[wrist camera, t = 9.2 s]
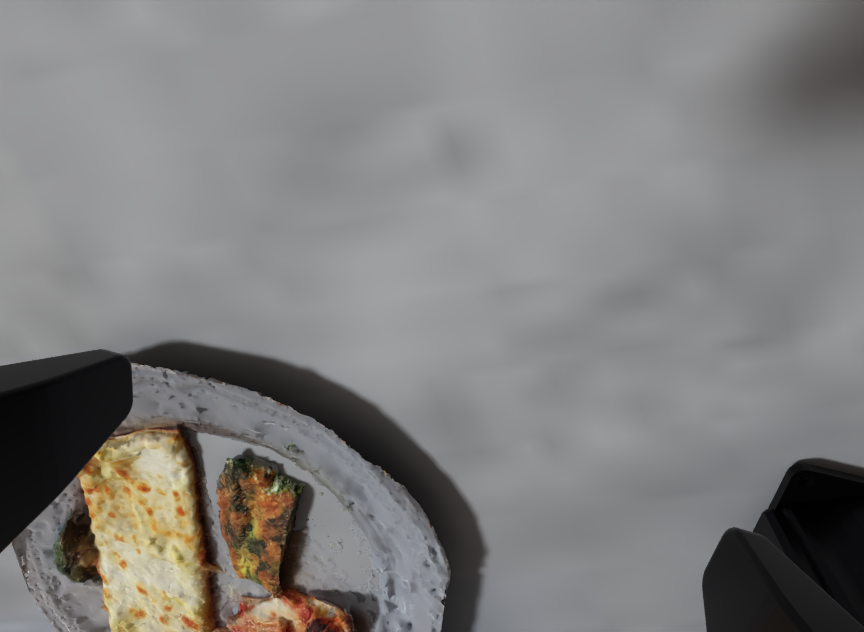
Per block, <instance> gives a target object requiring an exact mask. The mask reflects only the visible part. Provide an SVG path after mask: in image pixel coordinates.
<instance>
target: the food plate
mask: <svg viewBox="0 0 864 632" xmlns="http://www.w3.org/2000/svg"><path fill="white" fill-rule="evenodd" d="M131 365H132V384H133V405H132V408H131V411H130V413H129V414H128V416H127V417H126V419H125V420H124V421H123V422H122V423H121V425H120V426H119V427H118V428H117V429H116V430H115V432H114V433H113V434H112V435H111V436H110V437H109V439H108V440H107V441H106V442H105V443H104V444H103V446H102V447H101V448H100V449H99V450H98V451H97V453H96V454H95V455H94V456H93V457H92V458H91V460H90V461H89V462H88V463H87V464H86V465H85V467H84V468H83V469H82V470H81V471H80V472H79V474H78V475H77V476H76V477H75V478H74V479H73V481H72V482H71V483H70V484H69V485H68V486H67V487H66V488H65V490H64V491H63V492H62V493H61V494H60V495H59V496H58V497H57V498H56V499H55V500H54V501H53V502H52V503H51V504H50V505H49V506H48V507H47V508H46V509H45V510H44V511H43V512H42V513H41V514H40V515H39V516H38V517H37V518H36V519H35V520H34V521H33V522H32V523H31V524H30V525H29V526H28V527H27V528H26V529H25V530H24V531H23V532H22V533H21V534H20V535H19V536H18V537H17V538H15V539H14V540H13V542H12V546H13V548H14V551H15V553H16V557H17V560H18V562H19V565H20V568H21V571H22V573H23V571H24V573H23V576H24V579H25V581H26V584H27V582H28V583H30V584H31V585H30V587H31V589H30V588H29V587H28V589H29V591H30V594H31V595H32V597H33V599H34V600H35V602H36V605H37V606H38V608H40V610H41V611H42V612H43V614H44V616H45V617H46V618H47V621H48V622H49V623H50V624H51V625H52V627H53V628H54V629H55V630H56V631H57V632H440V631H441V627H442V620H443V611H444V605H442V603H441V601H442V600H443V598H446V594H447V591H446V594H445V591H444V590H446V583H447V582H448V583H447V589H448V585H449V582H450V574H451V568H450V566H449V562H448V560H447V558H446V556H445V554H446V553H445V550H444V549H443V547H442V545H441V544H440V541H438V535H437V533H435V530H434V527H433V526H432V525H430V523H429V520H428V517H427V515H426V513H423V509H422V508H421V507H420V504H419V503H418V502H417V501H416V500H415V499H414V498H413V497H412V496H411V495H410V494H409V492H408V491H407V489H406V488H405V487H404V485H403V486H402V485H401V484H400V483H398V482H394V479H393V478H392V479H391V477H390V474H388V473H387V474H386V472H385V471H383V470H382V469H381V467H380V466H378V465H372V463H370V462H367V461H365V460H364V459H363V458H361V456H360V455H359V453H358V452H356V451H355V450H353V449H352V448H350V445H346V443H345V441H342V440H341V438H338V435H336V434H335V433H334V431H333V430H329V429H327V428H325V426H324V425H322V424H320V423H319V422H316V420H315V419H313V418H312V417H309V416H306V415H303V414H300V413H298V412H297V411H296V410H293V409H292V408H291V407H290V406H287V405H284V404H281V403H280V402H277V401H275V400H274V401H273V399H271V398H270V397H269V398H268V397H265V396H261V395H260V394H262V393H259V392H256V391H253V390H250V389H249V390H250V391H249V390H248V388H246V389H245V388H242V387H237V386H235V385H231V384H229V383H225V382H220V381H221V380H220V381H218V380H216V379H214V378H212V377H211V376H209V377H211V378H209V379H207V380H206V379H205V377H198V376H197V375H191V374H188V373H190V372H187V371H184V372H179V371H178V370H173V371H171V370H170V369H167V368H163V367H156V368H151V366H148V365H145V366H144V365H139V364H138V363H134V364H133V363H131ZM185 372H187V373H185ZM205 376H206V375H205ZM262 395H264V394H262ZM266 396H267V395H266ZM186 429H191V430H192V431H195V432H200V433H208V434H211V435H216V436H220V437H224V438H231V439H232V440H236V441H241V442H244V443H248V444H251V445H254V446H262V447H266V448H269V449H271V450H273V451H274V452H276V453H277V454H279V455H281V456H283V457H285V458H287V459H289V460H291V461H292V462H296V464H295V465H296V466H297V467H298V468H300V469H302V470H305V471H306V470H307V471H308V472H310V473H311V474H312V476H313V479H314V481H316V482H318V485H323V486H325V487H326V488H328V489H329V490H330V491H331V492H332V493H333V494H334V495H335V496H336V497H337V500H338V502H339V503H340V504H341V505H340V509H341V510H343V511H345V510H347V509H348V511H349V513H350V515H351V517H352V518H353V519H354V521H353V522H350V526H351V530H354V533H353V534H352V535H353V537H355V540H356V542H357V544H358V545H362V544H363V540H365V541H367V542H368V544H369V551H370V553H368V557H369V559H370V562H371V567H370V568H369V569H368V570H369V571H370V573H371V575H370V578H368V581H367V586H366V585H365V584H362V585H357V588H356V587H353V586H349V585H347V584H346V583H345V581H343V580H346V578H348V574H347V573H346V572H344V571H340V572H336V571H333V568H335V566H336V564H335V562H334V559H332V557H333V555H334V553H333V552H342V551H341V549H342V548H343V546H342V544H341V543H342V542H343V540H342V539H339V540H338V542H339V543H338V544H334V543H330V544H329V546H331V547H337V548H338V549H339V551H333V550H332V549H330V551H326V550H324V549H322V548H321V545H320V544H319V543H317V542H316V539H315V541H312V540H311V539H310V538H309V537H310V536H309V535H308V533H309V530H308V529H306V528H303V529H301V530H298V531H294V530H293V528H294V527H295V520H296V511H297V509H298V501H299V498H300V494H301V493H302V492H303V489H304V486H305V484H304V483H301V482H300V483H298V484H297V483H295V482H294V481H293V480H292V479H291V478H288V477H286V476H284V475H282V474H281V473H280V472H279V470H278V467H277V465H276V464H274V463H270V462H268V461H266V460H264V459H261V458H259V457H257V456H253V457H252V458H251V459H248V457H247V456H244V455H237V456H235V457H234V458H233V459H231V458H228V459H227V460H226V464H225V468H224V470H223V472H222V474H221V475H220V476H219V479H218V480H217V490H216V494H218V498H219V499H218V503H217V504H218V505H219V507H220V509H221V511H219V512H220V513H219V519H220V523H215V524H214V523H212V521H213V520H214V519H215V518H216V515H215V513H214V512H213V510H212V505H211V501H210V499H209V495H208V494H207V492H208V490H207V489H206V488H205V487H206V483H207V480H206V476H203V475H202V474H201V472H202V468H201V465H200V462H199V458H198V455H197V451H198V450H199V449H198V448H197V447H196V446H195V447H192V446H191V443H190V440H189V439H190V436H189V434H188V433H187V431H186ZM192 450H193V451H192ZM201 487H202V488H201ZM322 495H323V493H320V496H322ZM308 520H309V519H308V518H306V521H308ZM312 520H313V519H312ZM314 526H315V525H314ZM323 526H325V525H323ZM304 534H306V536H305V535H304ZM307 536H308V537H307ZM327 536H328V535H327ZM328 537H329V536H328ZM289 551H291V552H292V553H290V552H289ZM362 552H367V551H366V550H363V551H362ZM360 553H361V551H358V554H360ZM21 556H23V561H24V565H23V566H22V559H21ZM315 556H317V557H319V558H320V560H319V559H317V558H316V557H315ZM320 556H321V557H320ZM294 563H295V564H294ZM22 569H23V570H22ZM361 570H362V571H363V572H364V573H366V572H365V571H366V570H367V569H366V568H365V567H362V566H361ZM373 570H376V571H377V572H378V573H379V575H380V578H379V580H380V581H379V583H380V584H379V585H378V586H379V587H380V588H381V590H382V594H381V595H380V594H379V593H376V594H375V595H376V596H377V597H378V599H377V601H376V602H374V601H373V600H372V599H371V598H372V596H373V595H372V593H371V592H370V591H371V588H370V586H371V587H372V589H373V587H375V586H374V584H373V583H372V582H371V580H373V578H374V577H375V576H374V574H373ZM25 573H27V575H28V577H27V578H25V575H24V574H25ZM230 575H233V577H234V578H232V577H231V576H230ZM334 575H338V576H340V577H341V578H342V580H340V579H336V578H335V576H334ZM27 586H28V585H27ZM366 587H367V588H368V589H367V591H366V592H363V591H362V589H365V588H366ZM353 589H357V590H358V591H359V593H360V594H361V595H363V596H364V597H365V598H366V599H365V601H364V602H358V597H357V596H356V595H355V594H353V593H351V592H350V591H351V590H353ZM373 590H375V591H376V592H378V591H379V590H378V589H376V588H375V589H373ZM444 603H445V602H444ZM233 607H239V611H238V613H237V614H236V615H234V614H233V611H232V608H233ZM395 607H397V609H398V613H396V612H394V608H395ZM368 610H371V611H373V612H374V613H375V618H374V620H375V622H374V621H373V620H372V616H370V615H369V614H370V613H369V612H368ZM368 617H369V618H368ZM369 623H370V624H369Z"/></svg>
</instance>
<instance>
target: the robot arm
mask: <svg viewBox="0 0 864 632" xmlns="http://www.w3.org/2000/svg"><path fill="white" fill-rule="evenodd" d="M132 405H133V384H132V365H131V362H130V360H129V358H128V357H127V356H125V355H122V354H119V353H115V352H112V351H108V350H103V349H100V350H93V351H87V352H81V353H75V354H69V355H63V356H57V357H51V358H45V359H39V360H33V361H27V362H21V363H15V364H9V365H3V366H0V553H1V552H2V551H3V550H4V549H5V548H6V547H7V546H8V545H9V544H10V543H11V542H12V541H13V540H14V539H15V538H17V537H18V536H19V535H20V534H21V533H22V532H23V531H24V530H25V529H26V528H27V527H28V526H29V525H30V524H31V523H32V522H33V521H34V520H35V519H36V518H37V517H38V516H39V515H40V514H41V513H42V512H43V511H44V510H45V509H46V508H47V507H48V506H49V505H50V504H51V503H52V502H53V501H54V500H55V499H56V498H57V497H58V496H59V495H60V494H61V493H62V492H63V491H64V490H65V488H66V487H67V486H68V485H69V484H70V483H71V482H72V481H73V479H74V478H75V477H76V476H77V475H78V474H79V472H80V471H81V470H82V469H83V468H84V467H85V465H86V464H87V463H88V462H89V461H90V460H91V458H92V457H93V456H94V455H95V454H96V453H97V451H98V450H99V449H100V448H101V447H102V446H103V444H104V443H105V442H106V441H107V440H108V439H109V437H110V436H111V435H112V434H113V433H114V432H115V430H116V429H117V428H118V427H119V426H120V425H121V423H122V422H123V421H124V420H125V419H126V417H127V416H128V414H129V413H130V411H131V408H132ZM802 476H808V477H807V478H806V479H805V480H798V479H799V478H800V477H802ZM702 589H703V599H704V609H705V618H706V628H707V632H864V477H860V476H855V475H851V474H847V473H843V472H838V471H834V470H830V469H826V468H821V467H817V466H813V465H809V464H796V465H793V466H792V467H790V468H789V469H788V470H787V472H786V474H785V476H784V478H783V480H782V482H781V484H780V486H779V488H778V490H777V492H776V494H775V496H774V498H773V500H772V502H771V504H770V506H769V508H768V509H766V510H765V511H764V512H763V513H762V514H761V516H760V518H759V520H758V522H757V524H756V526H755V528H754V530H753V532H750V531H746V530H743V529H739V528H735V527H733V528H730V529H728V530H727V531H726V532H725V533H724V534H723V536H722V538H721V540H720V542H719V544H718V545H717V547H716V549H715V551H714V553H713V555H712V557H711V559H710V561H709V563H708V565H707V567H706V569H705V571H704V575H703V581H702Z"/></svg>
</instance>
